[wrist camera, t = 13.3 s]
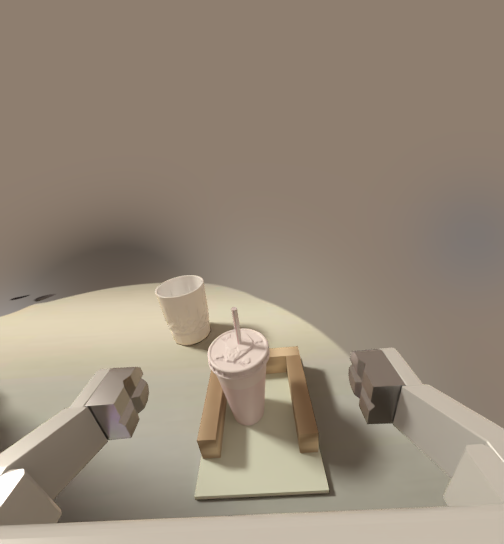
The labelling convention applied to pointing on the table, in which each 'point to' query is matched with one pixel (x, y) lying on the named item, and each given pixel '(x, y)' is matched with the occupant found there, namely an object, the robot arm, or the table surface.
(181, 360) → the table surface
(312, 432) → the rack
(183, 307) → the white cup
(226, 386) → the smoothie
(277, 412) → the mat
